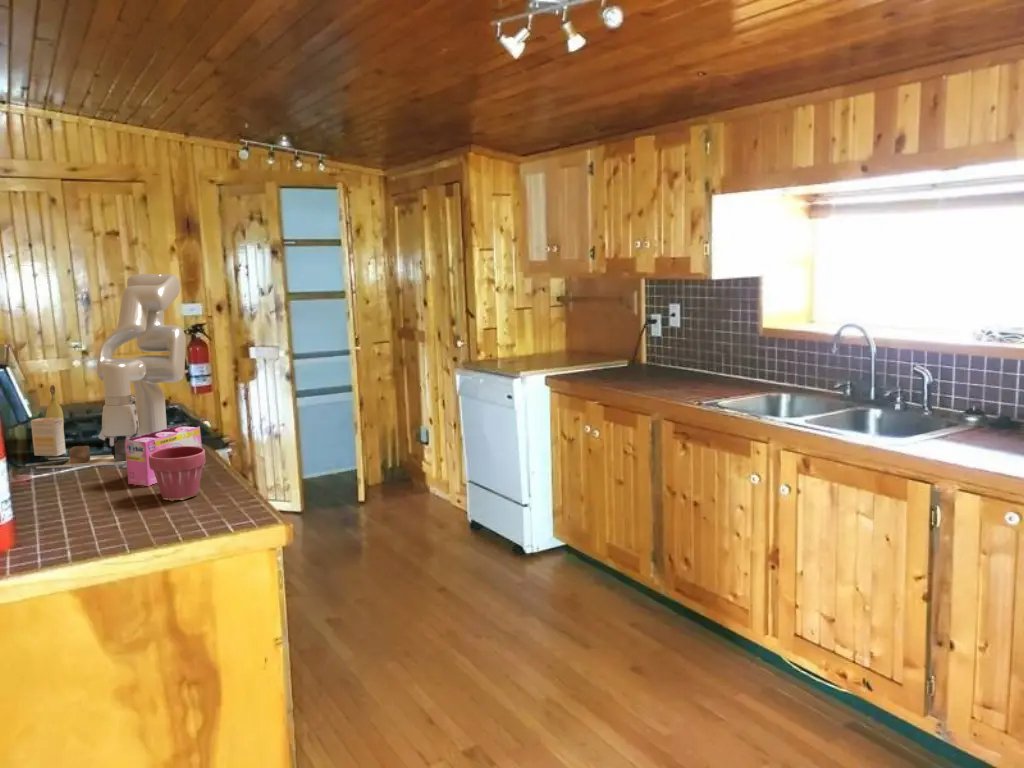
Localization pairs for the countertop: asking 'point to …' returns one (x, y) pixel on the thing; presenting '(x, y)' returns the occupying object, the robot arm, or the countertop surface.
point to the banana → (54, 407)
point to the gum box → (151, 442)
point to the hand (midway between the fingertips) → (122, 456)
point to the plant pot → (178, 470)
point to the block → (79, 454)
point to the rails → (84, 464)
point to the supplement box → (48, 436)
